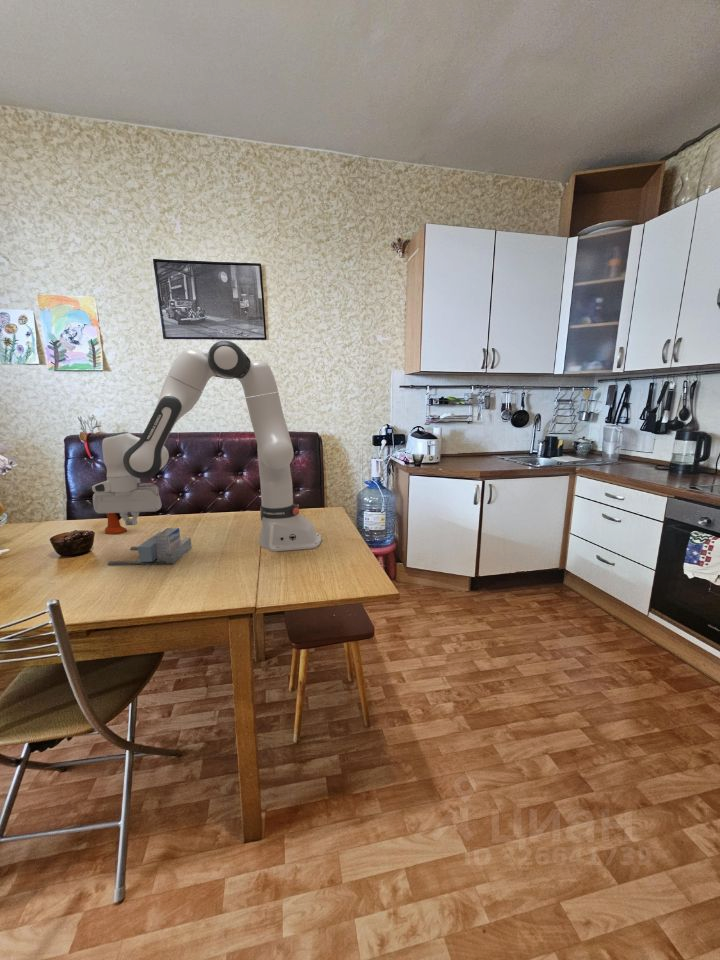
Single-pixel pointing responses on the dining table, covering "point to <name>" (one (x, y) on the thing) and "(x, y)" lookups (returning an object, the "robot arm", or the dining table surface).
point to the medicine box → (166, 541)
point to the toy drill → (114, 524)
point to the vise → (171, 555)
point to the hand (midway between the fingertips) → (131, 524)
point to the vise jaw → (148, 550)
